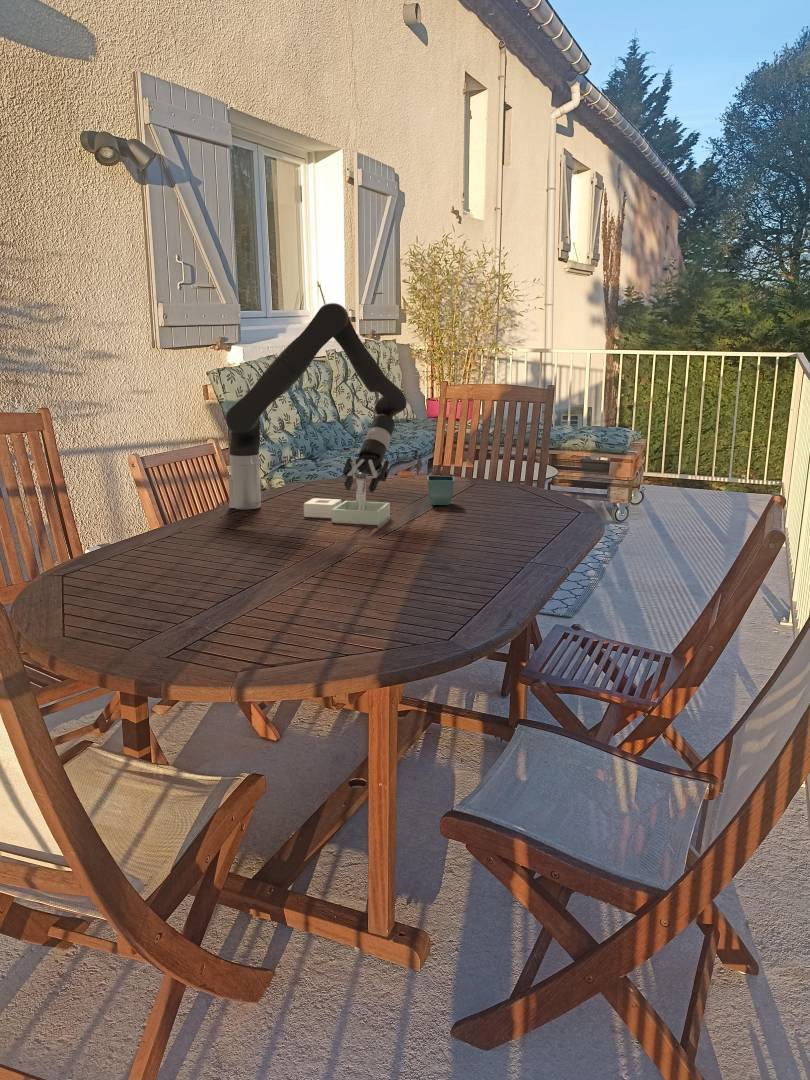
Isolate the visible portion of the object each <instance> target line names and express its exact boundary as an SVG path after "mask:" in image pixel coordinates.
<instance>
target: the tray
mask: <svg viewBox="0 0 810 1080" xmlns="http://www.w3.org/2000/svg"><path fill="white" fill-rule="evenodd" d="M390 506H391V503H390V502H376V501H366V511H362V510H356V500H344V501H343V502H341V504H340V505H338V506H336V507H335V508H333V509H332V518H331V523H336V524H353V525H370V526H371V525H373V526H375V527H374V529H379V528H380V527H381V526H382V525H384V524H385V523H386V522H387V521H388V520H390V519H389V518H391V516H390V515H391V511H390V509H391V508H390ZM385 521H386V522H385ZM384 522H385V523H384ZM383 523H384V524H383ZM379 526H380V527H379ZM378 527H379V528H378Z"/></svg>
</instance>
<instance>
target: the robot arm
mask: <svg viewBox="0 0 810 1080" xmlns="http://www.w3.org/2000/svg"><path fill="white" fill-rule="evenodd" d="M332 338H333V339H334V341H336V342H337V344H338V345H339V346H340V347H341V349H342V350H343V352H344V353H345V355H346V357H347V359H348V360H349V362H350V365H352V368H353V369H354V371H355V373H356V375H357V376H358V377H359V380H360V381H361V382H362V384H363V385H364V387H365V388H366V390H368V392H369V393H379V394H380V395H381V397H380V398H379V399H377V401H376V403H375V404H374V407H373V415H372V416H373V417H372V422H371V424H370V427H369V430H368V431H367V433H366V435H365V437H364V441H363V442H362V445H361V448H360V451H359V453H358V454H359V455H358V457H357V459H351V457H349V458H347V460H346V462H345V465H344V467H343V470H342V474H343V477H344V478H345V482H344V487H345V490H346V491H350V490H351V488H352V486H353V483H354V480H356V476H355V472H366V473H367V475H368V476H369V475H370V476H371V475H372V478H371V480H370V483H369V486H368V491H369V492H370V493H374V491H376V489H377V487H378V484H379V483H380V482H382V483H383V482H384V483H385V482H386V480H387V478H388V476H389V472H390V470H391V467H392V465H391V464H390V462H389V460H385V456H386V454H387V452H388V449H389V446H390V443H391V439H392V435H393V433H394V430H395V428H396V427H395V426H396V423H395V420H394V419H393V418H394V417H396V415H398V414H400V413H401V412H403V411H404V410H405V409H406V408H407V398H406V396H405V394H404V392H403V391H402V390H401V389H400V388H399V387H398V386H397V385H396V384H395V383H393V381H391V380H390V379H389V378H388V377H387V376H386V374H385V373H384V372H383V371H382V368H381V366H379V364H378V363H377V361H376V360H375V358H374V357H373V356H372V354H371V353H370V352H369V350H368V349H367V347H366V346H365V345H364V343H363V342H362V340H361V339H360V336H359V335H358V334H357V332H356V330H355V327H354V325H353V323H352V321H351V319H350V317H349V314H348V312H347V309H346V308H345V307H344V306H342V305H341V304H339V303H337V302H328V303H325V304H324V305H322V306H321V307H320V308H319V309H318V310H317V312H316V314H315V315H314V317H313V318H312V319H311V321H310V322H309V324H307V326H306V327H305V328H304V330H303V331H302V332H301V333H300V334H299V335H298V336H297V337H296V338H294V340H292V342H291V343H289V344H288V345H287V346H286V347H285V348H284V349H283V350H282V351H281V352H280V353H279V355H278V356H276V358H274V360H273V361H272V362H271V363H270V364H269V366H268V367H267V368H266V369H265V371H264V372H263V373H262V375H261V376H260V377H259V378H258V379H257V381H256V382H255V383H254V385H253V386H252V388H251V389H250V390H248V392H247V393H246V394H245V395H244V396H243V397H242V398H241V399H239V400H238V401H237V402H236V403H235V404H234V405H232V406H230V408H229V409H228V410H227V413H226V416H225V422H226V423H225V424H226V426H227V427H228V429H229V430H230V431H231V432H230V434H231V436H230V437H231V438H230V443H229V463H230V464H229V465H230V477H229V478H227V479H228V480H227V481H228V502H229V509H234V508H235V509H234V510H254V509H259V508H261V506H262V499H261V498H262V496H261V472H260V471H261V470H260V469H261V467H260V445H261V422H260V417H261V416H262V414H264V412H265V411H266V410H267V409H268V407H269V406H270V405H271V404H272V403H273V402H275V401H276V400H277V399H279V398H280V397H281V396H283V395H284V394H285V393H286V392H287V391H288V390H289V389H290V388H291V387H293V385H294V384H296V382H297V381H298V380H299V379H300V378H301V377H302V376H303V375H304V374H305V372H306V371H307V370H308V368H309V367H310V365H311V364H312V362H313V360H314V359H315V358H316V356H317V354H318V353H319V352H320V351H321V349H322V348H323V347H324V346H325V345H326V344H327V343H328V342H329V341H330V340H331V339H332ZM384 460H385V461H384ZM381 468H382V469H381ZM380 469H381V470H380ZM379 470H380V472H379V474H378V471H379Z"/></svg>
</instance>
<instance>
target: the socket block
mask: <svg viewBox="0 0 810 1080" xmlns="http://www.w3.org/2000/svg"><path fill="white" fill-rule="evenodd" d="M341 503H342V499H337V498H334V499H333V498H318V497H312V498H311V499H309V500H308V501H306V502H304V503H303V515H304V516H303V517H304V518H321V519H332V509H333V508H335V507H336V506H338V505H340V504H341Z"/></svg>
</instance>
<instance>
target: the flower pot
mask: <svg viewBox="0 0 810 1080" xmlns="http://www.w3.org/2000/svg"><path fill="white" fill-rule="evenodd" d="M426 481H427V491H428V497H429V501H430V503H431V505H432V504H435V505H448V506H449V505H450V504H451V501H452V498H453V495H454V489H455V482H456V481H455V477H454V476H453V475H427V480H426Z"/></svg>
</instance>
